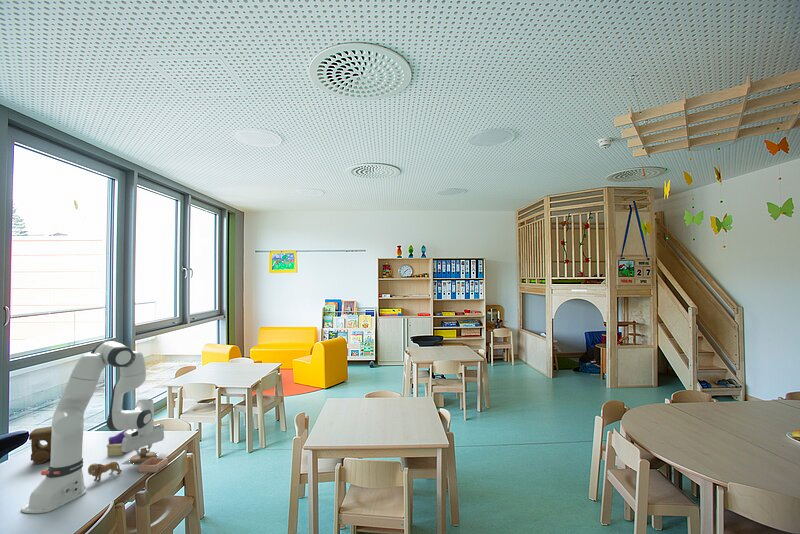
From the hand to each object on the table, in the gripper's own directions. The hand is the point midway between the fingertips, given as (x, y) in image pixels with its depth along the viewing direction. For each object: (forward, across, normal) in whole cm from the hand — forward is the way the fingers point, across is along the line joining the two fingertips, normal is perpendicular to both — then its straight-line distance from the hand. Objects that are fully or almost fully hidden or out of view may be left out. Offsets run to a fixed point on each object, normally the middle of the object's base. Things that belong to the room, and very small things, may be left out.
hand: (143, 454), depth 210 cm
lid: (+2, 0, 0) cm, 2 cm away
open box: (+3, +2, +16) cm, 17 cm away
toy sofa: (+3, -2, -23) cm, 23 cm away
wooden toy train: (+3, +26, -42) cm, 49 cm away
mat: (+3, 0, 0) cm, 3 cm away
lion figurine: (+3, +20, +6) cm, 22 cm away
